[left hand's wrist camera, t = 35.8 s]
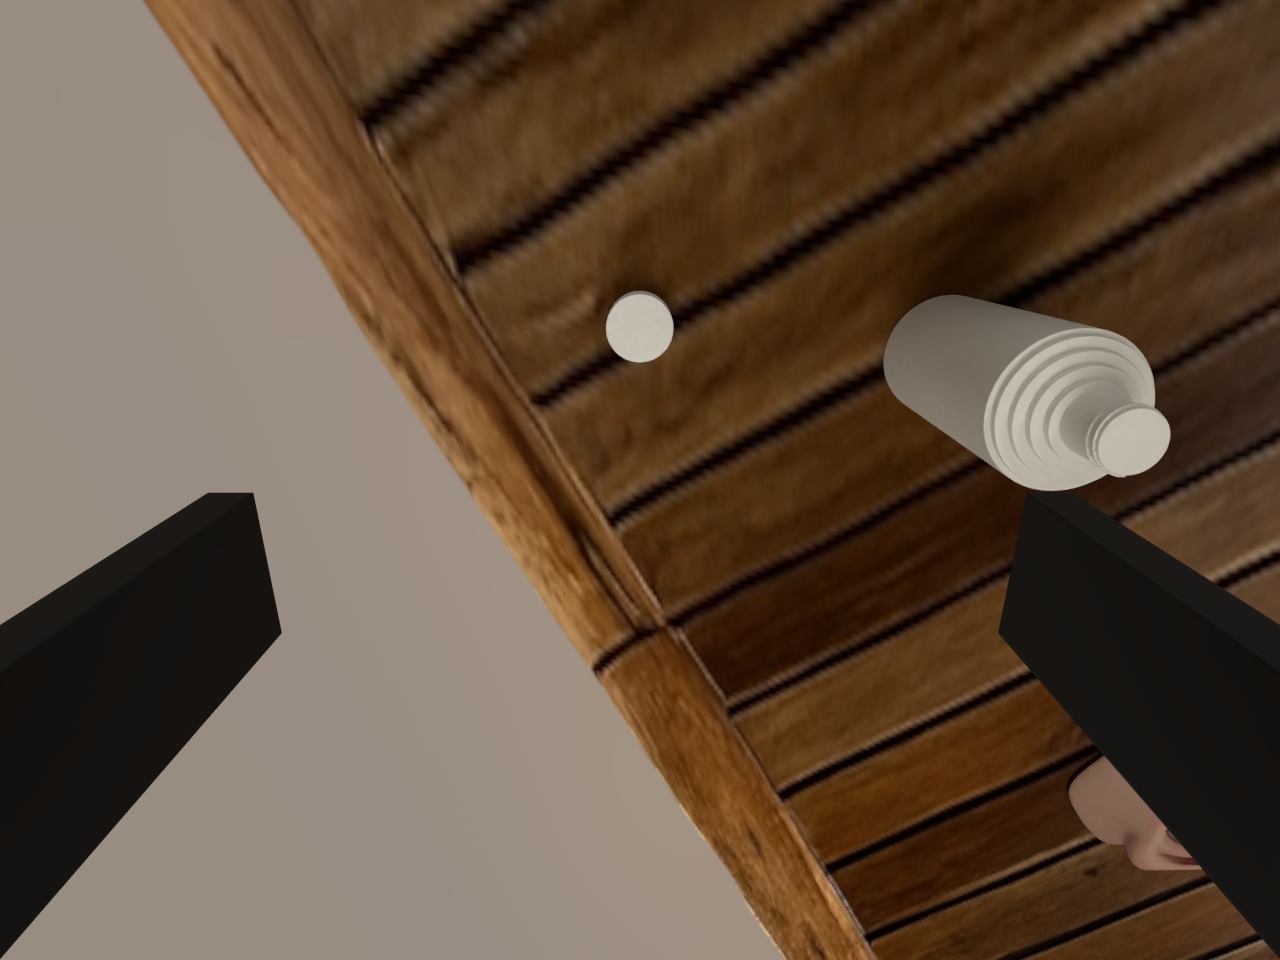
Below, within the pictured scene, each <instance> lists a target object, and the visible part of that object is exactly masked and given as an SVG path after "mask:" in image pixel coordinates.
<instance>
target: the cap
mask: <svg viewBox="0 0 1280 960" xmlns="http://www.w3.org/2000/svg"><path fill="white" fill-rule="evenodd" d="M673 330H674V328H673V320H672V316H671V313H670V311H669V309H668V307H667V305H666V304H665V303H664V301H663V300H662V299H661V298H659V297H658V296H656V295H655V294H653V293H650V292H646V291H634V292H630V293H627V294H625V295H623V296H622V297H620V298H619V299H618V300H617V301H616V302H615V303H614V305H613V306H612V308H611V310H610V312H609V315H608V318H607V323H606V334H607V338H608V341H609V343H610V345H611V347H612V348H613V350H614V351H615V352H616V353H617V354H618V355H619V356H621V357H622V358H624V359H626V360H629V361H632V362H647V361H651V360H653V359H655V358H657V357H659V356H660V355H661V354H662V353H664V351H665V350H666V349H667V348H668V346H669V344H670V342H671V340H672V336H673Z"/></svg>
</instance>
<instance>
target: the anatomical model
mask: <svg viewBox="0 0 1280 960" xmlns="http://www.w3.org/2000/svg"><path fill="white" fill-rule="evenodd" d="M1069 798H1070V801H1071V803H1072V805H1073V807H1074V809H1075V811H1076V812H1077V814H1078V816H1079V817H1080V819H1081V820H1082V822H1083V823H1084V825H1085V826H1086V827H1087V828H1088V829H1089V830H1090V831H1091V832H1092V833H1093V834H1094V835H1095V836H1096V837H1097V838H1098V839H1100V840H1102V841H1104V842H1106V843H1111V844H1120V845H1125V847H1126V851H1127V854H1128V856H1129V858H1130V860H1131V861H1132V863H1133V864H1134V865H1135V866H1137V867H1138V868H1140V869H1144V870H1198V869H1202V868H1201V867H1200V866H1199V865H1198V864H1197V863H1196V861H1195V860H1194V859H1193V858H1192V857H1191V856H1190V854H1189V853H1188V852H1187V851H1186V850H1185V849H1184V847H1183V846H1182V845H1181V844H1180V843H1179V842H1178V841H1177V839H1176V838H1175V837H1174V836H1173V835H1172V834H1171V832H1170V831H1169V830H1168V829H1167V828H1166V827H1165V825H1164V824H1163V823H1162V822H1161V821H1160V820H1159V819H1158V817H1157V816H1156V815H1155V814H1154V813H1153V812H1152V810H1151V809H1150V808H1149V807H1148V806H1147V805H1146V803H1145V802H1144V801H1143V800H1142V799H1141V798H1140V797H1139V795H1138V794H1137V793H1136V792H1135V791H1134V790H1133V788H1132V787H1131V786H1130V785H1129V784H1128V783H1127V781H1126V780H1125V779H1124V778H1123V777H1122V776H1121V775H1120V773H1119V772H1118V771H1117V770H1116V769H1115V768H1114V766H1113V765H1112V764H1111V763H1110V762H1109V761H1108V759H1107V758H1106V757H1105V756H1102V757H1101V758H1099V759H1098V760H1096V761H1095V762H1093V763H1092V764H1091V765H1089V766H1088V767H1087V768H1086V769H1084V770H1083V771H1082V772H1081V773H1080V774H1078V776H1077V777H1076V778H1075V779H1074V780H1073V781H1072V783H1071V785H1070V787H1069Z"/></svg>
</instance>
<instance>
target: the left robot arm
mask: <svg viewBox="0 0 1280 960" xmlns="http://www.w3.org/2000/svg"><path fill="white" fill-rule="evenodd" d="M281 633H282V632H281V627H280V622H279V617H278V612H277V607H276V602H275V597H274V593H273V588H272V583H271V578H270V573H269V568H268V563H267V558H266V553H265V548H264V543H263V538H262V533H261V529H260V524H259V519H258V514H257V509H256V504H255V499H254V494H253V493H207V494H205V495H204V496H202V497H201V498H199V499H198V500H196V501H194V502H193V503H191V504H190V505H188V506H187V507H185V508H183V509H182V510H180V511H179V512H177V513H176V514H174V515H172V516H171V517H169V518H168V519H166V520H165V521H163V522H161V523H160V524H158V525H157V526H155V527H153V528H152V529H150V530H149V531H147V532H146V533H144V534H142V535H141V536H139V537H138V538H136V539H135V540H133V541H131V542H130V543H128V544H127V545H125V546H124V547H122V548H120V549H119V550H117V551H116V552H114V553H113V554H111V555H109V556H108V557H106V558H105V559H103V560H102V561H100V562H98V563H97V564H95V565H94V566H92V567H91V568H89V569H87V570H86V571H84V572H83V573H81V574H80V575H78V576H76V577H75V578H73V579H72V580H70V581H69V582H67V583H65V584H64V585H62V586H61V587H59V588H58V589H56V590H54V591H53V592H51V593H50V594H48V595H47V596H45V597H43V598H42V599H40V600H39V601H37V602H36V603H34V604H32V605H31V606H29V607H28V608H26V609H25V610H23V611H21V612H20V613H18V614H17V615H15V616H14V617H12V618H10V619H9V620H7V621H6V622H4V623H2V624H1V625H0V959H1V957H2V956H3V955H4V954H5V953H6V952H7V951H8V949H9V948H10V947H11V946H12V945H13V944H14V942H15V941H16V940H17V939H18V938H19V937H20V935H21V934H22V933H23V932H24V931H25V930H26V929H27V927H28V926H29V925H30V924H31V923H32V922H33V920H34V919H35V918H36V917H37V916H38V915H39V913H40V912H41V911H42V910H43V909H44V908H45V906H46V905H47V904H48V903H49V902H50V901H51V900H52V898H53V897H54V896H55V895H56V894H57V893H58V891H59V890H60V889H61V888H62V887H63V886H64V885H65V883H66V882H67V881H68V880H69V879H70V878H71V876H72V875H73V874H74V873H75V872H76V871H77V869H78V868H79V867H80V866H81V865H82V864H83V863H84V861H85V860H86V859H87V858H88V857H89V856H90V854H91V853H92V852H93V851H94V850H95V849H96V847H97V846H98V845H99V844H100V843H101V842H102V841H103V839H104V838H105V837H106V836H107V835H108V834H109V832H110V831H111V830H112V829H113V828H114V827H115V825H116V824H117V823H118V822H119V821H120V820H121V819H122V817H123V816H124V815H125V814H126V813H127V812H128V810H129V809H130V808H131V807H132V806H133V805H134V803H135V802H136V801H137V800H138V799H139V798H140V796H141V795H142V794H143V793H144V792H145V791H146V790H147V788H148V787H149V786H150V785H151V784H152V783H153V781H154V780H155V779H156V778H157V777H158V776H159V775H160V773H161V772H162V771H163V770H164V769H165V768H166V766H167V765H168V764H169V763H170V762H171V761H172V759H173V758H174V757H175V756H176V755H177V754H178V753H179V751H180V750H181V749H182V748H183V747H184V746H185V744H186V743H187V742H188V741H189V740H190V739H191V737H192V736H193V735H194V734H195V733H196V732H197V730H198V729H199V728H200V727H201V726H202V725H203V724H204V722H205V721H206V720H207V719H208V718H209V717H210V715H211V714H212V713H213V712H214V711H215V710H216V709H217V707H218V706H219V705H220V704H221V703H222V702H223V700H224V699H225V698H226V697H227V696H228V695H229V693H230V692H231V691H232V690H233V689H234V688H235V687H236V685H237V684H238V683H239V682H240V681H241V680H242V678H243V677H244V676H245V675H246V674H247V673H248V671H249V670H250V669H251V668H252V667H253V666H254V665H255V663H256V662H257V661H258V660H259V659H260V658H261V656H262V655H263V654H264V653H265V652H266V651H267V649H268V648H269V647H270V646H271V645H272V644H273V643H274V641H275V640H276V639H277V638H278V637H279V636H280V634H281ZM998 633H999V634H1000V636H1001V637H1002V638H1003V639H1004V640H1005V641H1006V643H1007V644H1008V645H1009V646H1010V647H1011V648H1012V649H1013V651H1014V652H1015V653H1016V654H1017V655H1018V656H1019V658H1020V659H1021V660H1022V661H1023V662H1024V663H1025V665H1026V666H1027V667H1028V668H1029V669H1030V670H1031V671H1032V673H1033V674H1034V675H1035V676H1036V677H1037V678H1038V680H1039V681H1040V682H1041V683H1042V684H1043V685H1044V687H1045V688H1046V689H1047V690H1048V691H1049V692H1050V693H1051V695H1052V696H1053V697H1054V698H1055V699H1056V700H1057V702H1058V703H1059V704H1060V705H1061V706H1062V707H1063V709H1064V710H1065V711H1066V712H1067V713H1068V714H1069V715H1070V717H1071V718H1072V719H1073V720H1074V721H1075V722H1076V724H1077V725H1078V726H1079V727H1080V728H1081V729H1082V731H1083V732H1084V733H1085V734H1086V735H1087V736H1088V737H1089V739H1090V740H1091V741H1092V742H1093V743H1094V744H1095V746H1096V747H1097V748H1098V749H1099V750H1100V751H1101V753H1102V754H1103V755H1104V756H1105V757H1106V758H1107V759H1108V761H1109V762H1110V763H1111V764H1112V765H1113V766H1114V768H1115V769H1116V770H1117V771H1118V772H1119V773H1120V775H1121V776H1122V777H1123V778H1124V779H1125V780H1126V781H1127V783H1128V784H1129V785H1130V786H1131V787H1132V788H1133V790H1134V791H1135V792H1136V793H1137V794H1138V795H1139V797H1140V798H1141V799H1142V800H1143V801H1144V802H1145V803H1146V805H1147V806H1148V807H1149V808H1150V809H1151V810H1152V812H1153V813H1154V814H1155V815H1156V816H1157V817H1158V819H1159V820H1160V821H1161V822H1162V823H1163V824H1164V825H1165V827H1166V828H1167V829H1168V830H1169V831H1170V832H1171V834H1172V835H1173V836H1174V837H1175V838H1176V839H1177V841H1178V842H1179V843H1180V844H1181V845H1182V846H1183V847H1184V849H1185V850H1186V851H1187V852H1188V853H1189V854H1190V856H1191V857H1192V858H1193V859H1194V860H1195V861H1196V863H1197V864H1198V865H1199V866H1200V867H1201V868H1202V869H1203V871H1204V872H1205V873H1206V874H1207V875H1208V876H1209V878H1210V879H1211V880H1212V881H1213V882H1214V883H1215V885H1216V886H1217V887H1218V888H1219V889H1220V890H1221V891H1222V893H1223V894H1224V895H1225V896H1226V897H1227V898H1228V900H1229V901H1230V902H1231V903H1232V904H1233V905H1234V907H1235V908H1236V909H1237V910H1238V911H1239V912H1240V913H1241V915H1242V916H1243V917H1244V918H1245V919H1246V920H1247V922H1248V923H1249V924H1250V925H1251V926H1252V927H1253V929H1254V930H1255V931H1256V932H1257V933H1258V934H1259V935H1260V937H1261V938H1262V939H1263V940H1264V941H1265V942H1266V944H1267V945H1268V946H1269V947H1270V948H1271V949H1272V951H1273V952H1274V953H1275V954H1276V955H1277V956H1278V957H1279V959H1280V625H1279V624H1278V623H1276V622H1274V621H1273V620H1271V619H1270V618H1268V617H1266V616H1265V615H1263V614H1262V613H1260V612H1259V611H1257V610H1255V609H1254V608H1252V607H1251V606H1249V605H1248V604H1246V603H1244V602H1243V601H1241V600H1240V599H1238V598H1237V597H1235V596H1233V595H1232V594H1230V593H1229V592H1227V591H1226V590H1224V589H1222V588H1221V587H1219V586H1218V585H1216V584H1215V583H1213V582H1211V581H1210V580H1208V579H1207V578H1205V577H1204V576H1202V575H1200V574H1199V573H1197V572H1196V571H1194V570H1193V569H1191V568H1189V567H1188V566H1186V565H1185V564H1183V563H1182V562H1180V561H1178V560H1177V559H1175V558H1174V557H1172V556H1171V555H1169V554H1167V553H1166V552H1164V551H1163V550H1161V549H1160V548H1158V547H1156V546H1155V545H1153V544H1152V543H1150V542H1149V541H1147V540H1145V539H1144V538H1142V537H1141V536H1139V535H1138V534H1136V533H1134V532H1133V531H1131V530H1130V529H1128V528H1127V527H1125V526H1123V525H1122V524H1120V523H1119V522H1117V521H1116V520H1114V519H1112V518H1111V517H1109V516H1108V515H1106V514H1104V513H1103V512H1101V511H1100V510H1098V509H1097V508H1095V507H1093V506H1092V505H1090V504H1089V503H1087V502H1086V501H1084V500H1082V499H1081V498H1079V497H1078V496H1076V495H1075V494H1073V493H1027V494H1026V499H1025V504H1024V509H1023V514H1022V519H1021V524H1020V528H1019V533H1018V538H1017V543H1016V548H1015V553H1014V558H1013V563H1012V568H1011V573H1010V578H1009V583H1008V588H1007V592H1006V597H1005V602H1004V607H1003V612H1002V617H1001V622H1000V627H999V632H998Z"/></svg>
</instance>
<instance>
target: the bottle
mask: <svg viewBox="0 0 1280 960" xmlns="http://www.w3.org/2000/svg"><path fill="white" fill-rule="evenodd" d="M884 373H885V377H886V380H887V383H888V385H889V387H890V389H891V391H892V392H893V394H894V395H895V396H896V397H897V398H898V399H899V400H900V401H901V402H902V403H903V404H905V405H906V406H907V407H909V408H910V409H912V410H913V411H915V412H916V413H917V414H919V415H920V416H922V417H923V418H925V419H926V420H927V421H929V422H930V423H932V424H933V425H934V426H936V427H937V428H939V429H940V430H942V431H943V432H944V433H946V434H947V435H949V436H950V437H952V438H953V439H954V440H956V441H957V442H959V443H960V444H961V445H963V446H964V447H966V448H967V449H969V450H970V451H971V452H973V453H974V454H976V455H977V456H979V457H980V458H981V459H983V460H984V461H986V462H987V463H988V464H990V465H991V466H993V467H994V468H996V469H997V470H998V471H1000V472H1001V473H1003V474H1004V475H1005V476H1007V477H1008V478H1010V479H1011V480H1013V481H1015V482H1016V483H1019V484H1021V485H1023V486H1026V487H1029V488H1032V489H1038V490H1048V491H1056V490H1066V489H1071V488H1076V487H1079V486H1082V485H1085V484H1088V483H1090V482H1092V481H1095V480H1097V479H1099V478H1101V477H1103V476H1105V475H1106V474H1110V475H1113V476H1115V477H1125V476H1126V475H1134V474H1138V473H1141V472H1143V471H1145V470H1147V469H1149V468H1151V467H1152V466H1153V465H1155V464H1156V463H1157V462H1158V461H1159V460H1160V459H1161V457H1162V456H1163V455H1164V453H1165V451H1166V450H1167V447H1168V445H1169V442H1170V427H1169V424H1168V422H1167V420H1166V419H1165V417H1164V416H1163V415H1162V414H1161V413H1160V412H1159V411H1158V410H1157V409H1155V408H1154V405H1155V387H1154V379H1153V375H1152V372H1151V369H1150V367H1149V364H1148V362H1147V360H1146V359H1145V357H1144V356H1143V354H1142V353H1141V351H1140V350H1139V349H1138V348H1137V347H1136V346H1135V345H1134V344H1133V343H1131V342H1130V341H1129V340H1127V339H1126V338H1124V337H1122V336H1120V335H1118V334H1116V333H1114V332H1111V331H1108V330H1104V329H1100V328H1096V327H1092V326H1087V325H1083V324H1079V323H1075V322H1071V321H1067V320H1062V319H1058V318H1054V317H1050V316H1046V315H1042V314H1037V313H1033V312H1029V311H1025V310H1021V309H1017V308H1012V307H1008V306H1004V305H1000V304H996V303H992V302H987V301H983V300H979V299H975V298H971V297H967V296H961V295H944V296H939V297H934V298H932V299H929V300H926V301H924V302H922V303H920V304H919V305H917V306H916V307H914V308H913V309H911V310H910V311H909V312H908V313H907V314H905V315H904V317H903V318H902V319H901V320H900V321H899V322H898V324H897V325H896V326H895V328H894V329H893V331H892V333H891V335H890V337H889V339H888V342H887V345H886V348H885V353H884Z"/></svg>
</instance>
